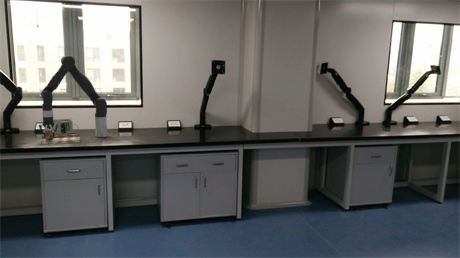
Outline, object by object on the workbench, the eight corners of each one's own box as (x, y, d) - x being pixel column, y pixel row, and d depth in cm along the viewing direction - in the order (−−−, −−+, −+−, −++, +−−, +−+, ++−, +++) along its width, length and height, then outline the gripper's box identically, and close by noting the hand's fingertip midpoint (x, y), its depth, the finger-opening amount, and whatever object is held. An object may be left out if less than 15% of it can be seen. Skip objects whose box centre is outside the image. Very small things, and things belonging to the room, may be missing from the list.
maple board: (79, 138, 304) (79, 134, 303) (80, 142, 291) (79, 137, 291) (42, 140, 293) (41, 135, 292) (41, 144, 280) (40, 139, 280)
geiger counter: (48, 119, 309) (78, 117, 324) (46, 118, 314) (77, 116, 329) (49, 135, 312) (79, 133, 327) (47, 134, 317) (77, 131, 332)
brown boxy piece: (53, 136, 294) (52, 129, 293) (52, 139, 285) (52, 131, 283) (46, 137, 292) (45, 129, 291) (45, 139, 283) (44, 132, 281)
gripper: (58, 115, 293) (59, 135, 296) (38, 115, 287) (39, 136, 290) (57, 116, 286) (59, 137, 289) (37, 117, 280) (38, 138, 283)
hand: (49, 137), depth 289 cm, fingers closed on brown boxy piece, 5 cm apart
